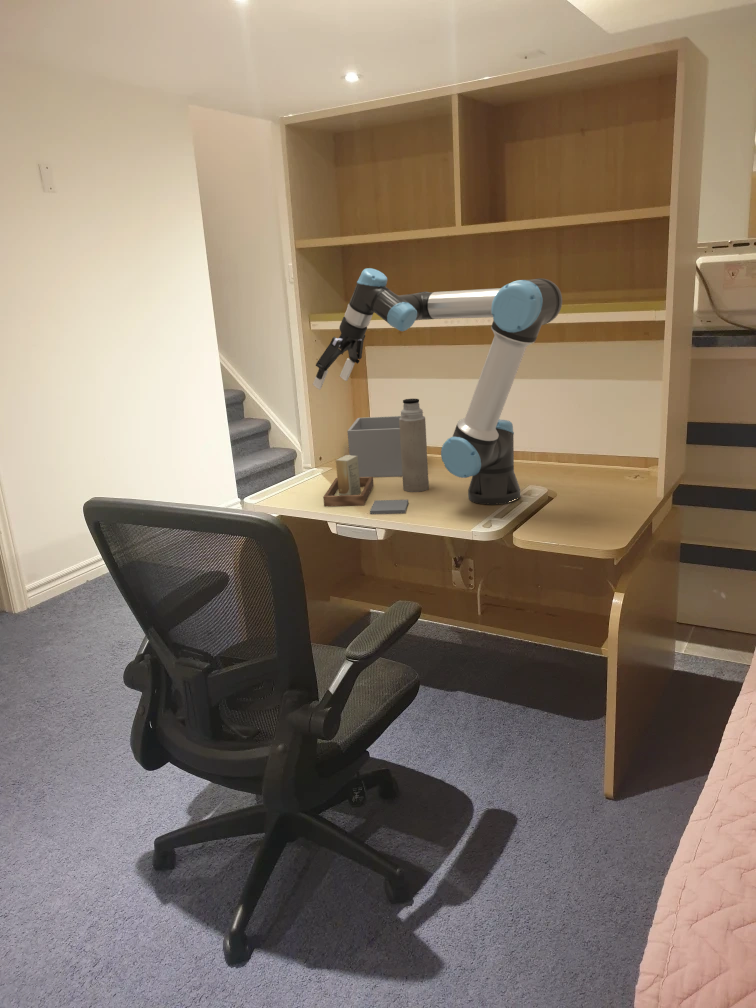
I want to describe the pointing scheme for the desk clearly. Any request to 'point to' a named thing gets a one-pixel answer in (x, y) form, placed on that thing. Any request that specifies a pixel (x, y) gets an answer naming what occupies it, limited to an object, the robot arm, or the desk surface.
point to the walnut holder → (348, 499)
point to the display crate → (376, 446)
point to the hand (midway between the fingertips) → (330, 382)
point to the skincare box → (348, 475)
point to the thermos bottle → (413, 447)
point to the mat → (389, 506)
